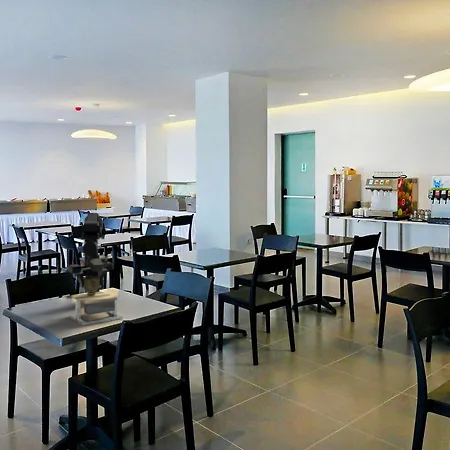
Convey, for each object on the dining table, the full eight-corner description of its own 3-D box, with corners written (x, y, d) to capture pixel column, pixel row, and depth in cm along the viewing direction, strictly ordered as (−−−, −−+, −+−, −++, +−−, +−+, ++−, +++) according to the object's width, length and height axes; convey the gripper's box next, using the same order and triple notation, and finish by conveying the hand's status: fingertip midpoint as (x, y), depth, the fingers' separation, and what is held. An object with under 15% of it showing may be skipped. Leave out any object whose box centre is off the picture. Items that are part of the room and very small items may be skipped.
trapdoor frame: (71, 317, 217) (71, 298, 216) (110, 311, 228) (110, 293, 227) (82, 325, 207) (82, 305, 206) (122, 318, 218) (123, 299, 217)
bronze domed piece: (91, 297, 217) (90, 278, 216) (79, 295, 221) (78, 277, 220) (103, 294, 223) (103, 276, 222) (91, 292, 227) (91, 275, 226)
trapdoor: (71, 307, 222) (71, 295, 221) (101, 303, 230) (101, 291, 230) (85, 315, 209) (85, 301, 209) (117, 310, 218) (116, 297, 217)
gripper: (77, 255, 208) (77, 293, 209) (119, 252, 219) (119, 288, 221) (67, 252, 216) (67, 288, 218) (108, 248, 228) (108, 283, 229)
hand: (91, 286), depth 221 cm, fingers open, 7 cm apart
